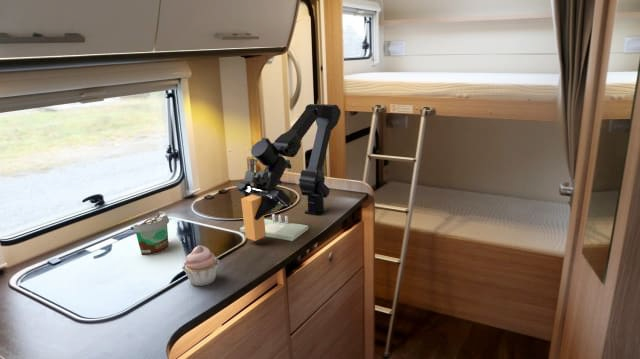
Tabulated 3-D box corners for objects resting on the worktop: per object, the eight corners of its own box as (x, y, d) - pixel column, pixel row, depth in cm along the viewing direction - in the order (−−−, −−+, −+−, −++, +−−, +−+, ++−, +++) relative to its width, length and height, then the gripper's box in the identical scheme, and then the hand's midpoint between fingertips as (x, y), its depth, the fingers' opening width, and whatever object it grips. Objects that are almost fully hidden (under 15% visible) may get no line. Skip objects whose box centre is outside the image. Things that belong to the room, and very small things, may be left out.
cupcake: (199, 293, 111) (194, 256, 109) (177, 283, 117) (171, 247, 114) (229, 278, 118) (224, 243, 115) (207, 268, 124) (202, 235, 121)
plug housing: (255, 232, 142) (252, 194, 138) (265, 235, 139) (262, 196, 135) (245, 237, 138) (241, 198, 135) (255, 240, 136) (251, 201, 132)
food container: (155, 259, 132) (150, 227, 129) (138, 257, 134) (132, 225, 131) (181, 241, 143) (176, 212, 140) (164, 240, 145) (159, 210, 142)
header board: (257, 220, 156) (256, 210, 155) (308, 229, 147) (307, 218, 146) (240, 231, 148) (238, 221, 147) (292, 240, 139) (291, 229, 138)
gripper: (237, 156, 141) (212, 200, 136) (280, 163, 129) (256, 211, 124) (257, 174, 149) (235, 216, 144) (300, 182, 137) (278, 228, 132)
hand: (250, 218), depth 136 cm, fingers closed on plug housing, 4 cm apart
